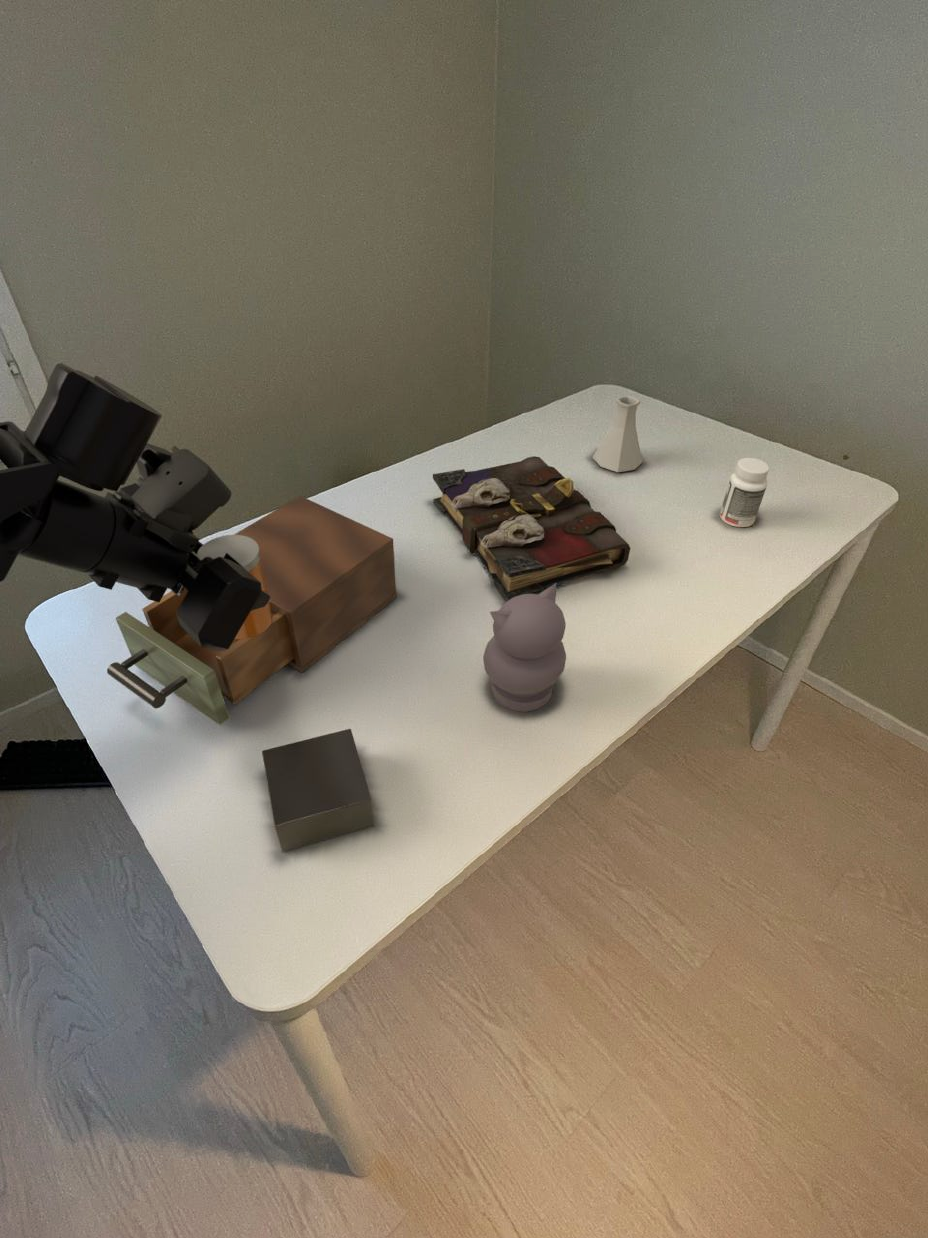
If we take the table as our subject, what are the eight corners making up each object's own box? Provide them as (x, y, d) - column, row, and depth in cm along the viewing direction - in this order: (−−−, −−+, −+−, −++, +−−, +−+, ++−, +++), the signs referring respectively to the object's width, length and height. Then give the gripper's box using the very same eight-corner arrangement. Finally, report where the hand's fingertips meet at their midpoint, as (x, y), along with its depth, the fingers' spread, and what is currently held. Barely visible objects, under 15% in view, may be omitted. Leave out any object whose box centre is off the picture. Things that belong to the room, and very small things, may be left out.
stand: (282, 852, 59) (274, 826, 57) (269, 777, 65) (261, 750, 62) (374, 825, 61) (371, 799, 59) (354, 754, 67) (350, 728, 64)
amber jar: (240, 648, 63) (221, 578, 58) (204, 623, 65) (183, 553, 60) (285, 618, 66) (271, 550, 61) (249, 595, 68) (233, 527, 63)
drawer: (186, 752, 66) (167, 704, 61) (101, 688, 71) (78, 639, 67) (325, 642, 77) (318, 594, 72) (242, 594, 83) (230, 547, 78)
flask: (616, 445, 113) (627, 385, 106) (650, 464, 109) (664, 403, 102) (583, 458, 110) (593, 397, 103) (617, 478, 105) (629, 415, 99)
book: (631, 573, 88) (642, 525, 83) (502, 607, 83) (505, 558, 78) (536, 471, 106) (541, 426, 102) (425, 494, 101) (424, 448, 96)
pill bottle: (761, 524, 97) (780, 471, 91) (732, 530, 96) (750, 476, 90) (740, 506, 100) (757, 453, 95) (712, 512, 99) (728, 459, 93)
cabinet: (302, 673, 75) (290, 612, 69) (211, 617, 81) (193, 558, 75) (396, 597, 84) (393, 538, 78) (309, 552, 90) (300, 495, 85)
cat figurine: (510, 731, 69) (519, 644, 61) (466, 682, 74) (469, 595, 66) (577, 696, 73) (593, 609, 65) (530, 651, 78) (540, 565, 70)
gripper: (209, 489, 45) (359, 557, 59) (89, 394, 55) (241, 471, 68) (127, 635, 46) (292, 669, 60) (23, 517, 56) (185, 569, 69)
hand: (251, 586), depth 64 cm, fingers closed on amber jar, 5 cm apart
